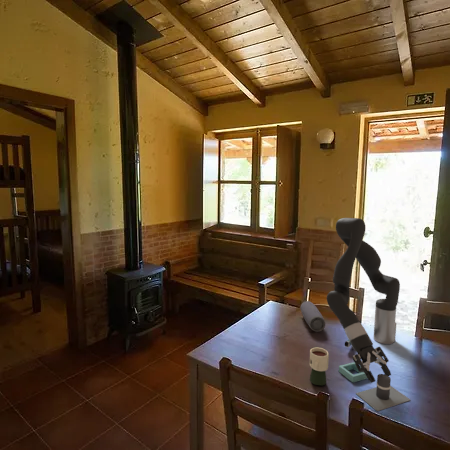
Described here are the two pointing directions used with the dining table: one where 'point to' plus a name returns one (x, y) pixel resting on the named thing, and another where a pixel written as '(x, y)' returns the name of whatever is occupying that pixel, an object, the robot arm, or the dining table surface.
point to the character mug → (318, 365)
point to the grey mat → (378, 403)
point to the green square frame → (345, 371)
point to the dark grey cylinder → (383, 386)
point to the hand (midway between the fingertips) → (381, 378)
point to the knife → (347, 343)
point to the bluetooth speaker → (312, 316)
